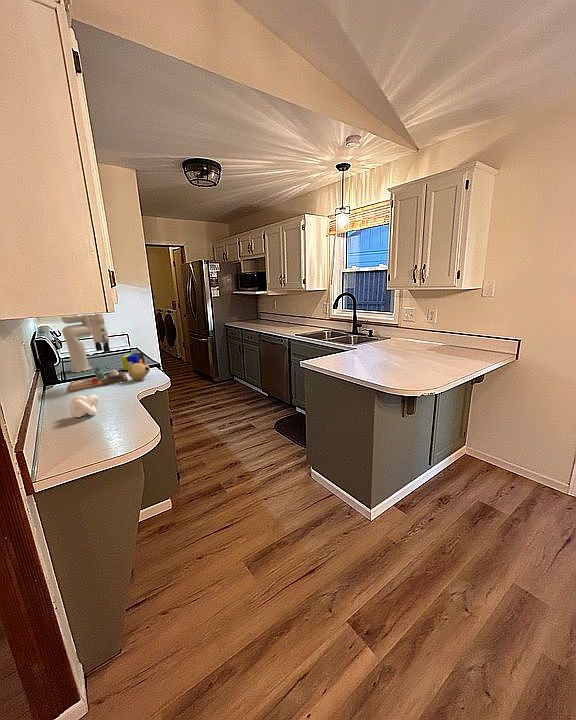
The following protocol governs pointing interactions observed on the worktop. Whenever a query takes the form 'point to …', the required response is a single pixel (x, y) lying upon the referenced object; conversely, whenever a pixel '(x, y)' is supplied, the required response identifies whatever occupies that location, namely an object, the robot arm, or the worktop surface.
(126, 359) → the puzzle toy
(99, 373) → the pawn
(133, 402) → the worktop surface
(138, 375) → the toy pig
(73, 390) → the game board
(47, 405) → the worktop surface
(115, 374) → the dome
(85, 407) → the white knot
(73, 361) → the robot arm
